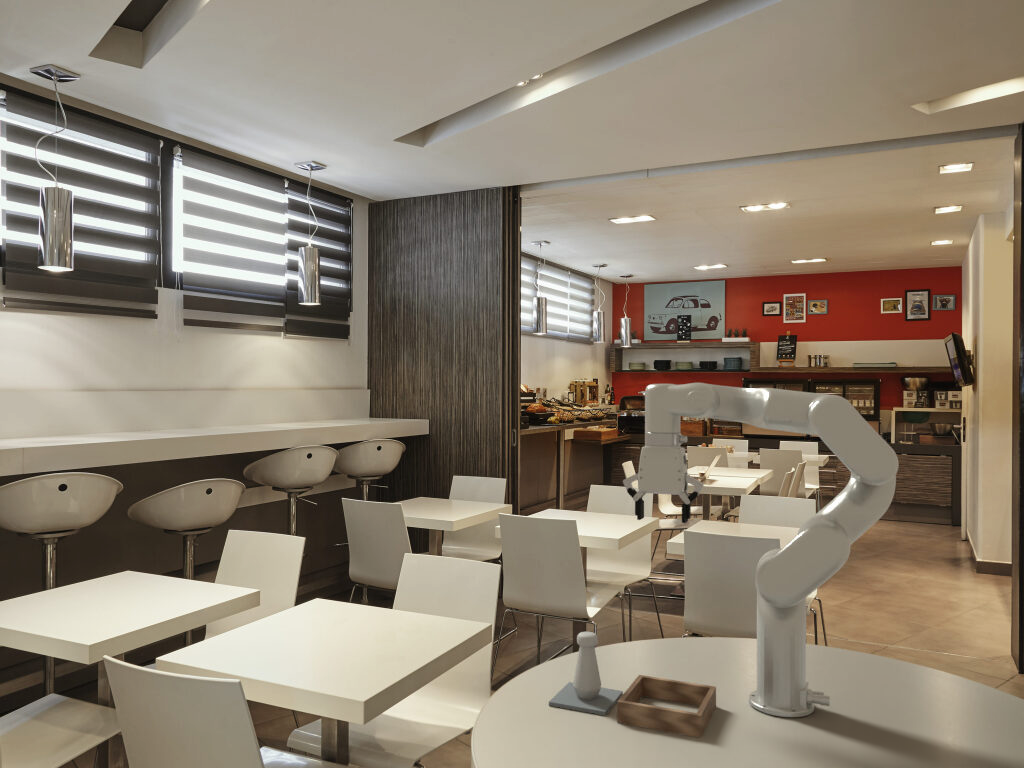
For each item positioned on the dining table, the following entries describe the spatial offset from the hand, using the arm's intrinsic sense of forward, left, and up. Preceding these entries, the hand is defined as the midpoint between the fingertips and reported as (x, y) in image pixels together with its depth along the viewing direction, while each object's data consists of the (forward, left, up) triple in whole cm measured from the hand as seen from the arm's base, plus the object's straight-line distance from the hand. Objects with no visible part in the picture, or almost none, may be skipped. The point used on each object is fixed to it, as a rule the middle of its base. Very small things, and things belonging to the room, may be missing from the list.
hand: (662, 520), depth 168 cm
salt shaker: (+13, +12, -36) cm, 40 cm away
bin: (-4, +12, -36) cm, 38 cm away
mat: (+13, +12, -36) cm, 40 cm away
